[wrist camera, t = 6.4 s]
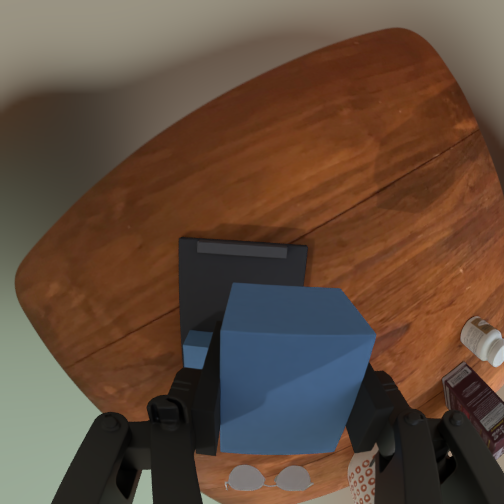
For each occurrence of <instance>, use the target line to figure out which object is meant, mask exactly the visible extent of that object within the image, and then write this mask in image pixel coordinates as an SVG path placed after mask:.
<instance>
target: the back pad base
mask: <svg viewBox="0 0 504 504" xmlns="http://www.w3.org/2000/svg"><path fill="white" fill-rule="evenodd" d="M307 251H308V247H307V246H306V245H295V244H280V243H266V242H251V241H236V240H220V239H205V238H188V237H181V238H179V301H180V326H181V344H182V359H183V367H188V368H196V369H202V368H203V365H204V361H205V358H206V355H207V351H208V348H209V344H210V341H211V338H212V334H213V331H214V328H215V324H216V321H223V319H224V315H225V311H226V307H227V303H228V299H229V296H230V292H231V288H232V284H233V283H247V284H262V285H279V286H298V287H303V285H304V277H305V268H306V260H307Z"/></svg>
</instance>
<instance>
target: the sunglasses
mask: <svg viewBox="0 0 504 504" xmlns="http://www.w3.org/2000/svg"><path fill="white" fill-rule="evenodd" d="M264 481H265V478H264V476H263V475H262V474H261V473H260V472H259V471H258V470H257V469H256V468H255V467H253V466H250V465H239V466H237V467H235V468H234V469H233V470H232V471H231V473H230V476H229V482H225V485H226V483H228V484H229V485H230V486H231V487H232V488H233V489H236V490H244V491H250V490H257V489H259V488H261V487H262V486H263V485H265V484H264ZM274 481H275V482H276V484H277V485H273V486H278V487H279V488H281V489H283V490H287V491H300V490H302V491H304V490H306V489H307V488H308V487H310V486H311V485H313V484H314V483H310V482H311V481H310V476H309V474H308V472H307V470H306V469H304V468H303V467H301V466H289V467H286V468H285V469H283V470H282V471H281V472H280V473H279V475H277V476H276V477H275V479H274ZM310 484H311V485H310ZM265 486H268V485H265ZM268 487H272V486H268ZM228 488H229V486H228ZM226 489H227V486H226ZM227 490H228V489H227Z"/></svg>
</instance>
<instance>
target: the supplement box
mask: <svg viewBox="0 0 504 504" xmlns="http://www.w3.org/2000/svg"><path fill="white" fill-rule="evenodd" d="M442 381H443V387H444V394H445V402H446V407H447V408H448V409H449V410H459V411H461V412H463V413H464V414H465V415H466V416H467V417H468V419H469V420H470V421H471V423H472V424H473V426H474V427H475V429H476V430H477V432H478V433H479V435H480V436H481V438H482V439H483V441H484V442H485V444H486V445H487V447H488V448H489V450H490V451H491V453H492V455H493V456H494V458H495V459H496V460H497V459H498V458H499V457H500V456H501V455H502V454H503V453H504V402H503V401H502V400H501V399H500V397H498V395H497V394H496V393H495V392H494V391H493V390H492V389H491V388H490V387H489V386H488V385H487V384H486V383H485V382H484V381H483V380H482V379H481V378H480V377H479V376H478V375H477V373H476V372H475V371H474V370H473V369H472V368H471V367H470V366H468V365H467V364H466V363H465V362H463V363H461V364H460V365H459V366H458V367H456V368H455V369H454V370H452V371H451V372H450V373H448V374H447V375H446V376H445V377H443V378H442Z"/></svg>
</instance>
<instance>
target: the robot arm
mask: <svg viewBox="0 0 504 504" xmlns="http://www.w3.org/2000/svg"><path fill="white" fill-rule="evenodd" d="M222 323H223V321H216V324H215V328H214V331H213V334H212V338H211V341H210V344H209V348H208V351H207V355H206V358H205V361H204V365H203V368H202V369H196V368H188V367H183V368H182V369H181V370H180V371H179V372H177V374H176V376H175V378H174V382H173V383H172V386H171V389H170V391H169V393H168V395H160V396H157V397H155V398H153V399H152V400H151V401H149V402H148V405H147V411H148V415H149V419H150V420H148V421H142V422H128V421H127V419H126V418H125V417H124V416H123V415H121V414H119V413H115V412H107V413H103V414H101V415H99V416H98V417H97V418H96V419H95V420H94V422H93V424H92V426H91V427H90V429H89V431H88V433H87V434H86V437H85V438H84V440H83V442H82V444H81V446H80V447H79V449H78V451H77V453H76V455H75V457H74V459H73V461H72V462H71V464H70V466H69V468H68V470H67V472H66V474H65V476H64V478H63V480H62V482H61V484H60V486H59V488H58V490H57V492H56V495H55V497H54V499H53V501H52V503H51V504H132V502H133V499H134V496H135V492H136V488H137V486H138V482H139V479H140V476H141V473H142V470H148V469H151V475H152V492H153V493H152V494H153V504H203V502H202V498H201V493H200V488H199V483H198V478H197V472H196V467H195V461H194V452H195V449H196V453H197V454H204V455H212V456H216V451H217V444H218V438H219V431H220V330H221V327H222ZM346 428H347V431H348V434H349V437H350V440H351V444H352V447H353V450H354V453H361V452H367V451H371V450H372V449H373V447H374V445H375V443H376V444H377V446H378V449H379V450H378V451H377V453H376V454H375V456H374V458H373V459H372V461H371V462H370V465H369V467H372V465H373V464H374V462H375V495H374V504H504V473H503V471H502V469H501V468H500V466H499V464H498V463H497V461H496V459H495V458H494V456H493V455H492V453H491V451H490V450H489V448H488V447H487V445H486V444H485V442H484V441H483V439H482V438H481V436H480V435H479V433H478V432H477V430H476V429H475V427H474V426H473V424H472V423H471V421H470V420H469V419H468V417H467V416H466V415H465V414H464V413H463V412H461V411H459V410H449V411H447V412H445V414H444V415H443V417H442V418H441V419H434V418H426V417H425V415H424V414H423V413H422V412H421V411H419V410H416V409H411V408H410V407H409V405H408V403H407V402H406V400H405V399H404V397H403V395H402V394H401V392H400V390H398V387H397V386H396V385H395V382H394V381H393V379H392V378H391V376H390V375H388V374H387V373H386V372H384V371H374V370H373V368H372V366H371V364H370V363H369V362H368V365H367V369H366V372H365V375H364V378H363V380H362V383H361V386H360V389H359V392H358V394H357V397H356V400H355V402H354V405H353V408H352V410H351V413H350V415H349V418H348V420H347V423H346ZM449 451H451V453H452V456H451V457H449V456H448V452H449Z"/></svg>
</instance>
